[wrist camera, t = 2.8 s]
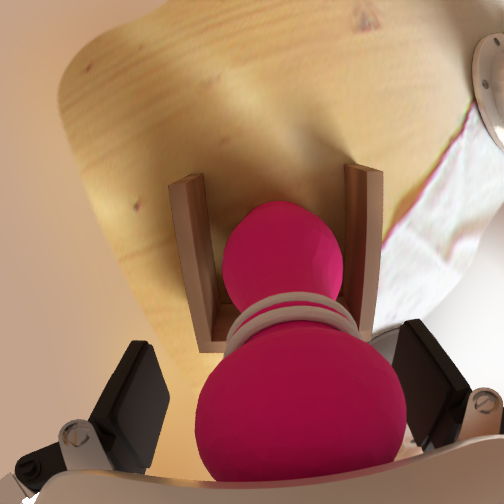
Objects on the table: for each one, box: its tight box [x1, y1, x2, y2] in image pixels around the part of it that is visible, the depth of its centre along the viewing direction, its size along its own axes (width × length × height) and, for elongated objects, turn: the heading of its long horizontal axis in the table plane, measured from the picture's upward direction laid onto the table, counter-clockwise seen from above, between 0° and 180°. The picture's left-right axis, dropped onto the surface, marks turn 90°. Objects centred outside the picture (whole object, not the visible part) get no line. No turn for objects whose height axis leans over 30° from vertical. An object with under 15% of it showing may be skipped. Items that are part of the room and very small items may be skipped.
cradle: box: [168, 164, 383, 353], centre depth 20 cm, size 12×12×5 cm
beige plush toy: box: [394, 424, 423, 461], centre depth 27 cm, size 7×6×8 cm
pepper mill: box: [195, 201, 406, 482], centre depth 13 cm, size 7×7×20 cm
